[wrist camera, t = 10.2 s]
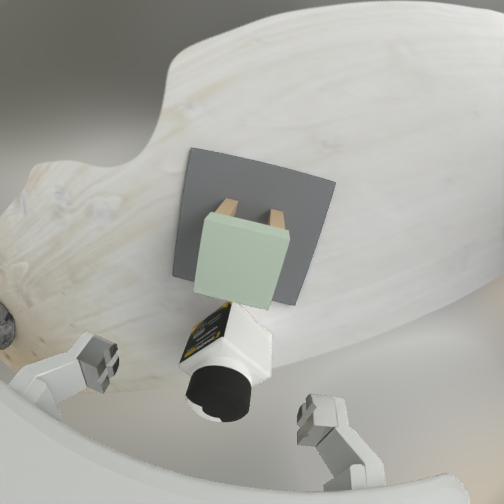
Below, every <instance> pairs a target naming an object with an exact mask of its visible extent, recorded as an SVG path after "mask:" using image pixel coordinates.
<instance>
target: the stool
mask: <svg viewBox="0 0 504 504" xmlns="http://www.w3.org/2000/svg"><path fill="white" fill-rule="evenodd" d="M237 204H238V201H236V200H232V199H228V198H226V199H225V200H224V201H223V203H222V204H221V205H220V206H219V208H218V209H217V210H216V211H215V213H214V212H210V213H209V214H208V216H207V217H206V218H205V219H204V225H203V231H202V237H201V243H200V249H199V255H198V262H197V268H196V275H195V282H194V289H193V292H195V293H198V294H202V295H206V296H210V297H214V298H218V299H222V300H226V301H230V302H234V303H239V304H243V305H247V306H251V307H256V308H260V309H265V310H269V307H270V304H271V300H272V297H273V294H274V291H275V288H276V285H277V281H278V278H279V275H280V272H281V269H282V265H283V262H284V259H285V255H286V252H287V249H288V245H289V242H290V235H289V230H285V223H284V215H283V212H282V211H278V210H274V209H271V211H270V214H269V218H268V225H265V224H261V223H257V222H253V221H249V220H244V219H240V218H236V217H234V215H235V213H236V209H237Z"/></svg>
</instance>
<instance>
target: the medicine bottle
mask: <svg viewBox="0 0 504 504" xmlns="http://www.w3.org/2000/svg"><path fill="white" fill-rule="evenodd" d="M271 364H272V334H271V333H269V332H268V331H267V330H266V329H265V328H264V327H263V326H262V325H260V324H259V323H258V322H257V321H256V320H255V319H254V318H253V317H252V316H251V315H249V314H248V313H247V312H246V311H245V310H244V309H243V308H242V307H241V306H240V305H239V304H237V303H234V302H230V301H229V302H227V303H226V304H225V305H223V306H222V307H221V308H219V309H218V310H217V311H215V312H214V313H213V314H211V315H210V316H208V317H207V318H206V319H204V320H203V321H202V322H200V323H199V324H198V325H196V326H195V327H194V328H193V330H192V332H191V335H190V337H189V340H188V342H187V345H186V347H185V350H184V352H183V355H182V358H181V360H180V363H179V368H180V369H182V370H183V371H184V372H186V373H187V374H188V375H190V376H191V380H190V383H189V386H188V389H187V392H186V395H185V400H186V403H187V405H188V406H189V408H190V409H191V410H192V411H193V412H194V413H196V414H197V415H199V416H201V417H203V418H205V419H208V420H212V421H216V422H232V421H236V420H239V419H241V418H242V417H244V416H245V415H246V414H247V413H248V411H249V406H250V396H251V387H253V386H255V385H257V384H259V383H261V382H263V381H265V380H267V379H269V378H270V377H271Z"/></svg>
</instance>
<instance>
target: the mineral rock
mask: <svg viewBox="0 0 504 504" xmlns="http://www.w3.org/2000/svg"><path fill="white" fill-rule="evenodd" d="M13 320H14V319H13V318H12V316H11V315H10V314H9V313H8V311H7V309H6V307H4V306H3V305H2V304H0V350H4V349H5V348H7V347H9V345H11V342H12V340H13V339H14V337H15V333H14V321H13Z"/></svg>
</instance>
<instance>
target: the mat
mask: <svg viewBox="0 0 504 504" xmlns="http://www.w3.org/2000/svg"><path fill="white" fill-rule="evenodd" d="M335 185H336V183H335V182H333V181H329V180H326V179H323V178H319V177H316V176H312V175H309V174H305V173H302V172H298V171H295V170H291V169H287V168H283V167H279V166H275V165H271V164H267V163H263V162H259V161H255V160H250V159H246V158H241V157H237V156H232V155H227V154H223V153H218V152H212V151H207V150H202V149H196V148H191V153H190V158H189V163H188V169H187V174H186V180H185V186H184V192H183V198H182V204H181V211H180V218H179V225H178V232H177V240H176V248H175V256H174V265H173V275H172V276H175V277H178V278H182V279H186V280H189V281H193V282H195V275H196V268H197V262H198V255H199V249H200V243H201V237H202V231H203V225H204V219H205V218H206V217H207V216H208V214H209V213H210V212H214V213H215V211H216V210H217V209H218V208H219V206H220V205H221V204H222V203H223V201H224V200H225V199H226V198H228V199H232V200H236V201H238V204H237V209H236V213H235V215H234V217H236V218H240V219H244V220H249V221H253V222H257V223H261V224H265V225H268V218H269V214H270V211H271V209H274V210H278V211H282V212H283V215H284V223H285V230H289V235H290V242H289V245H288V249H287V252H286V255H285V259H284V262H283V265H282V269H281V272H280V275H279V278H278V281H277V285H276V288H275V291H274V294H273V297H272V300H271V301H276V302H280V303H284V304H289V305H294V306H295V304H296V301H297V299H298V296H299V293H300V290H301V288H302V285H303V282H304V279H305V277H306V274H307V271H308V268H309V265H310V262H311V260H312V257H313V254H314V251H315V248H316V245H317V242H318V239H319V236H320V233H321V230H322V227H323V224H324V220H325V217H326V214H327V211H328V208H329V205H330V201H331V198H332V195H333V191H334V188H335Z"/></svg>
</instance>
